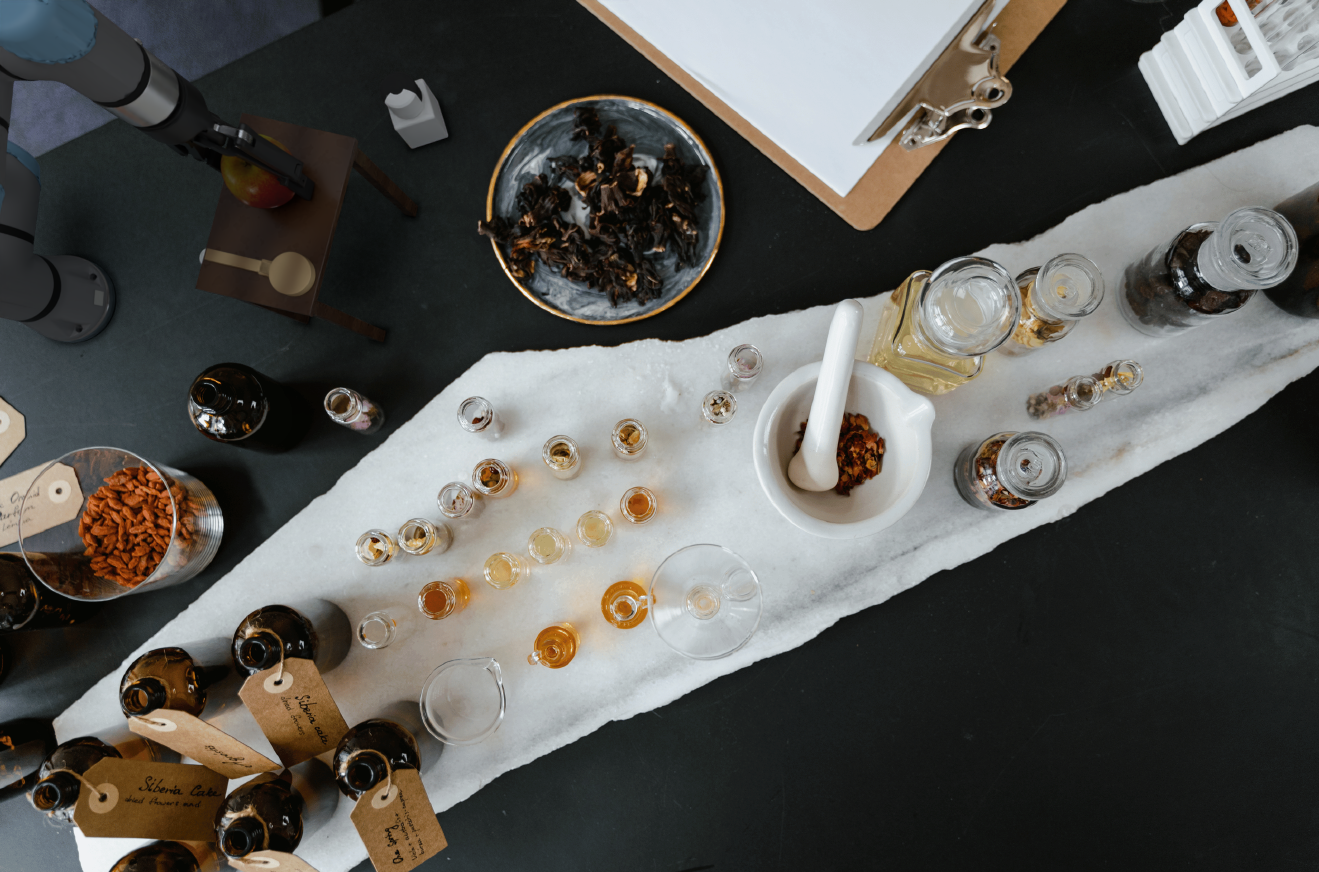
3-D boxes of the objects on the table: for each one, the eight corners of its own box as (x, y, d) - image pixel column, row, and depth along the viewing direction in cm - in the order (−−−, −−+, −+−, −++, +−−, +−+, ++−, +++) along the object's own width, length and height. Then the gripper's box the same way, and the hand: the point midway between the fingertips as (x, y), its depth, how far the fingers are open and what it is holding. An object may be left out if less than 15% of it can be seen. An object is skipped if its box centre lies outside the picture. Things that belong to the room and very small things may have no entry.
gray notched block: (400, 112, 119) (368, 73, 107) (438, 100, 118) (410, 59, 106) (411, 149, 118) (381, 114, 106) (449, 137, 118) (423, 100, 106)
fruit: (286, 229, 93) (249, 207, 85) (233, 196, 94) (191, 171, 86) (322, 171, 93) (289, 144, 85) (269, 139, 94) (231, 109, 86)
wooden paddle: (205, 276, 94) (199, 273, 92) (216, 235, 94) (210, 232, 93) (309, 300, 93) (304, 298, 92) (320, 259, 93) (315, 256, 92)
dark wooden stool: (293, 323, 118) (194, 288, 94) (330, 183, 118) (241, 112, 94) (385, 345, 117) (309, 315, 93) (421, 204, 118) (355, 137, 94)
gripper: (254, 82, 71) (357, 174, 93) (62, 40, 71) (210, 141, 94) (236, 150, 70) (344, 226, 93) (44, 106, 71) (197, 192, 94)
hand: (276, 183), depth 93 cm, fingers closed on fruit, 9 cm apart
